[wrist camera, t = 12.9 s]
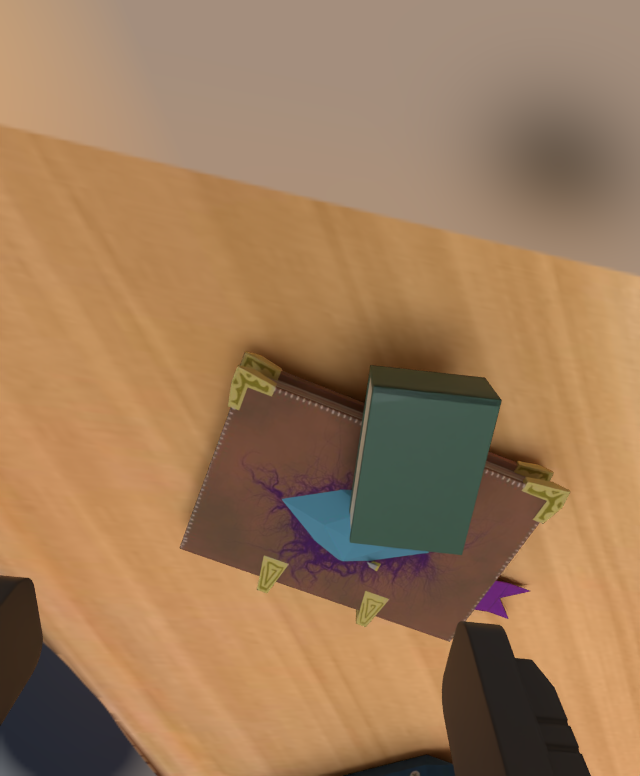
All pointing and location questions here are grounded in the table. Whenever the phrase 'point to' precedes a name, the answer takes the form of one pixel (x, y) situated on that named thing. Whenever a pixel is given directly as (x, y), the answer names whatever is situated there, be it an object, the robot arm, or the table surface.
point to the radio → (412, 768)
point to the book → (347, 510)
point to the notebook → (420, 458)
